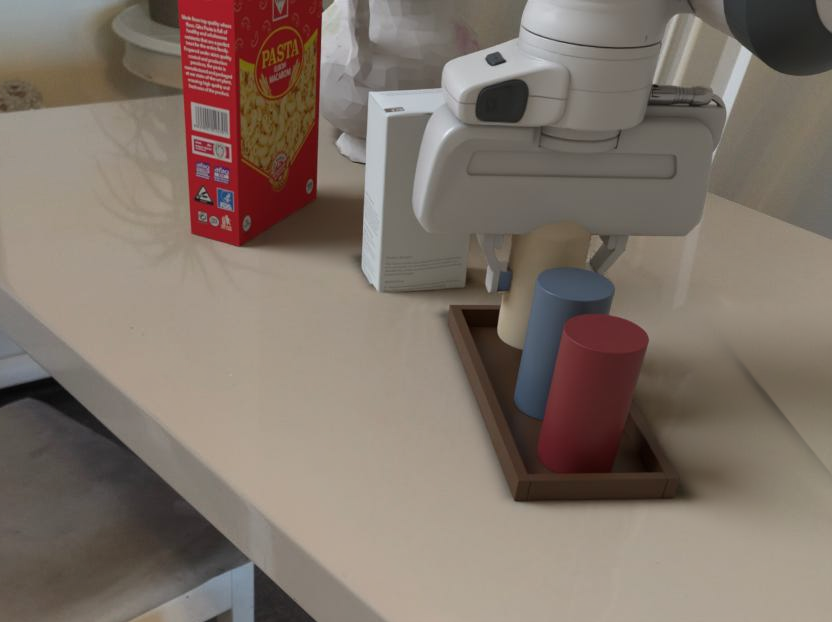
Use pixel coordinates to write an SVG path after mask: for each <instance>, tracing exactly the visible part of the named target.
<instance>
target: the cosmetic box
mask: <svg viewBox="0 0 832 622" xmlns="http://www.w3.org/2000/svg"><path fill="white" fill-rule="evenodd" d="M444 103H446V101H445V99H444V97H443V93H442V88H436V89H421V90H402V91H381V92H369V98H368V120H367V139H366V163H365V171H364V173H365V174H364V176H365V178H364V196H363V197H364V199H363V217H362V218H363V219H362V221H363V224H362V244H361V245H362V248H361V271H362V272H363V274H364V275H365V277H366V280H367V281H368V282H369V284H370V285H373V286H374V289H376V291H377V292H378V293H397V292H398V293H399V292H400V293H401V292H415V291H416V292H417V291H431V290H433V291H434V290H442V289H455V288H465V287H466V281H467V280H466V279H467V274H468V273H467V272H468V264H469V256H470V248H471V247H470V246H471V239H472V234H447V233H428V232H427V231H426V230H425V229H424V228H423V227H422V225H421V224H420V223H419V221H418V220H417V218H416V216H415V213H414V210H413V204H412V197H413V187H414V180H415V173H416V167H417V162H418V157H419V152H420V148H421V144H422V140H423V136H424V132H425V129H426V126H427V124H428V121H429V119H430V118H431V116H432V114H433V113H434V112H435V111H436V110H437V109H438V108H439V107H440V106H441V105H443V104H444Z"/></svg>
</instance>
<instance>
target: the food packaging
mask: <svg viewBox="0 0 832 622" xmlns="http://www.w3.org/2000/svg"><path fill="white" fill-rule="evenodd" d="M323 1H324V0H177V9H178V22H179V23H178V26H179V40H180V41H179V43H180V44H179V45H180V61H181V63H180V64H181V79H182V95H183V113H184V130H185V131H184V132H185V147H186V161H187V162H186V165H187V185H188V201H189V202H188V203H189V220H190V233H191V234H193V235H196V236H199V237H203V238H207V239H212V240H215V241H218V242H222V243H225V244H228V245H229V244H230V245H233V246H236V247H241V246H242V245H245V244H246V243H247V242H249V241H250V240H252V239H253V238H256V237H257V236H258V235H260V234H262V233H263V232H265V231H266V230H268V229H270V228H272V227H273V226H274V225H276V224H278V223H279V222H281V221H283V220H284V219H286V218H287V217H289V216H290V215H292V214H293V213H295V212H297V211H298V210H300V209H302V208H303V207H305V206H306V205H308V204H310V203H311V202H313V201H314V200H316V199H317V198H318V197H317V192H318V166H319V165H318V163H319V162H318V161H319V159H318V158H319V127H320V112H319V101H320V68H321V36H322V13H323V3H324V2H323Z"/></svg>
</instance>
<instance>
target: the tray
mask: <svg viewBox="0 0 832 622" xmlns="http://www.w3.org/2000/svg"><path fill="white" fill-rule="evenodd" d="M500 308H501V304H449V306H448V315H447V326H448V328H449V331H450V334H451V336H452V339H453V342H454V345H455V347H456V350H457V352H458V355H459V358H460V360H461V363H462V366H463V369H464V371H465V374H466V376H467V379H468V382H469V384H470V387H471V390H472V392H473V395H474V398H475V401H476V403H477V405H478V408H479V411H480V414H481V416H482V419H483V421H484V424H485V427H486V430H487V433H488V435H489V437H490V440H491V443H492V446H493V448H494V452H495V454H496V457H497V460H498V461H499V465H500V467H501V470H502V473H503V475H504V477H505V481H506V483H507V485H508V486H507V487H508V488H509V491H510V494H511V497H512V499H513V501H514V502H552V501H554V502H555V501H556V502H557V501H558V502H559V501H563V502H564V501H615V500H616V501H617V500H621V501H622V500H673V499H674V497H675V494H676V490H677V488H678V485H679V483H680V477H679V475H678V473H677V472H676V470H675V468H674V467H673V465H672V463H671V462H670V460H669V458H668V457H667V455H666V453H665V452H664V450H663V448H662V447H661V445H660V443H659V441H658V440H657V438H656V437H655V435H654V433H653V432H652V430H651V428H650V426H649V425H648V423H647V422H646V420H645V418H644V417H643V415H642V413H641V412H640V410H639V407H638V406H637V405H636V403H635V401H634V400H633V399H632V402H631V406H630V409H629V413H628V416H627V419H626V423H625V426H624V430H623V433H622V437H621V440H620V444H619V447H618V451H617V454H616V458H615V461H614V465H613V468H612V469H611V471H610V472H609V473H578V474H557V473H554V472H552V471H551V470H549V469H547V468H546V467H545V466H544V465H543V464H542V463H541V462H540V461H539V459H538V457H537V447H538V442H539V437H540V433H541V428H542V424H543V420H539V419H536V418H533V417H530V416H528V415H526V414H525V413H523V412H522V411H520V410H519V409H518V408H517V406H516V405H515V402H514V394H515V389H516V383H517V378H518V373H519V368H520V363H521V357H522V352H523V350H521V349H518V348H515V347H513V346H510V345H508V344H507V343H505V342H504V341H503V340H501V338H500V337H499V336H498V332H497V327H498V320H499V314H500Z"/></svg>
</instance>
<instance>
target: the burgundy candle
mask: <svg viewBox="0 0 832 622" xmlns="http://www.w3.org/2000/svg"><path fill="white" fill-rule="evenodd" d="M649 342H650V338H649V334H648V333H647V332H646V330H645V329H644V328H643V327H641V326H640V325H638V324H636V323H635V322H633V321H631V320H628V319H626V318H623V317H619V316H616V315H611V314H609V315H605V314H584V315H579V316H575V317H573V318H571V319H569V320H568V321H567V322H566V323H565V325H564V328H563V333H562V337H561V342H560V346H559V351H558V355H557V360H556V364H555V369H554V374H553V378H552V383H551V387H550V392H549V396H548V401H547V406H546V410H545V415H544V419H543V424H542V428H541V433H540V437H539V442H538V447H537V457H538V459H539V461H540V462H541V463H542V464H543V465H544V466H545V467H546V468H547V469H549V470H551V471H552V472H554V473H557V474H578V473H609V472H610V471H611V469H612V468H613V465H614V461H615V458H616V454H617V451H618V447H619V444H620V440H621V437H622V433H623V430H624V426H625V423H626V419H627V416H628V413H629V409H630V406H631V402H632V400H633V398H634V394H635V391H636V388H637V385H638V381H639V378H640V374H641V370H642V366H643V363H644V360H645V357H646V352H647V350H648V346H649Z"/></svg>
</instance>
